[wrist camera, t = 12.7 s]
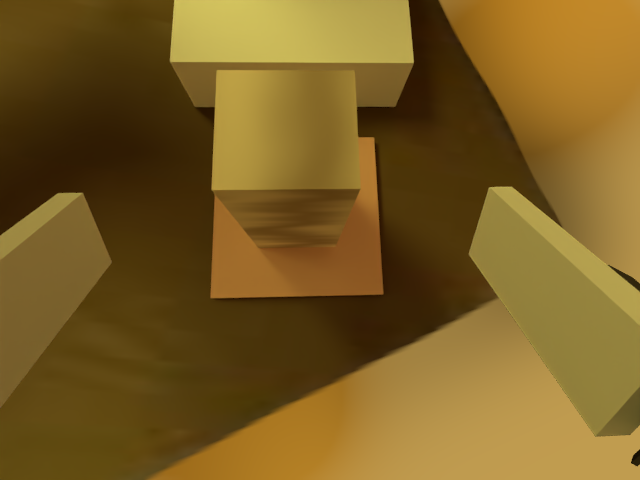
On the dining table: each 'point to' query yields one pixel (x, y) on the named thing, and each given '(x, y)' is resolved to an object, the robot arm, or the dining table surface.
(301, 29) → the l-shaped bookend
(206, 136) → the dining table surface
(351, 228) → the tile pad
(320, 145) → the maple block
